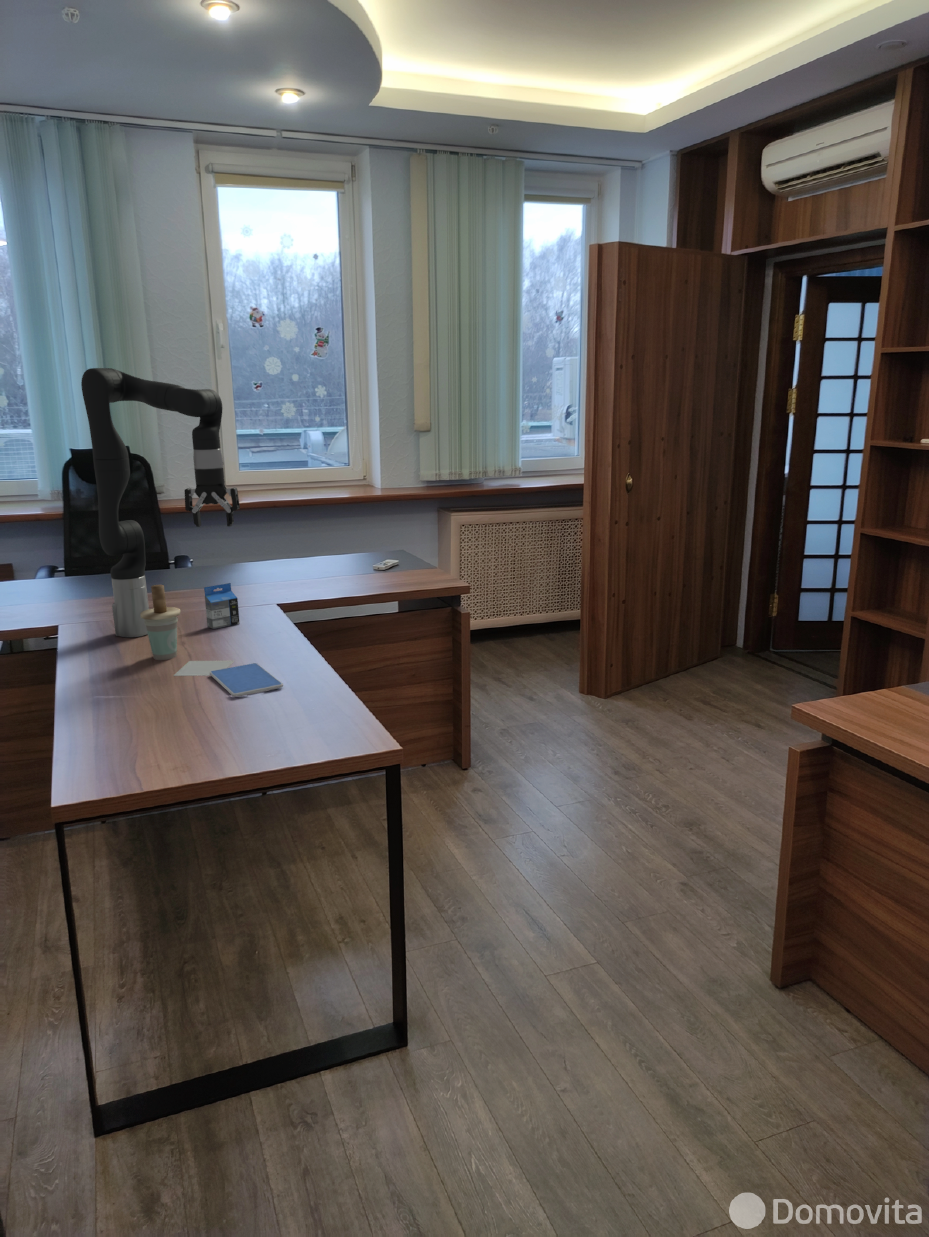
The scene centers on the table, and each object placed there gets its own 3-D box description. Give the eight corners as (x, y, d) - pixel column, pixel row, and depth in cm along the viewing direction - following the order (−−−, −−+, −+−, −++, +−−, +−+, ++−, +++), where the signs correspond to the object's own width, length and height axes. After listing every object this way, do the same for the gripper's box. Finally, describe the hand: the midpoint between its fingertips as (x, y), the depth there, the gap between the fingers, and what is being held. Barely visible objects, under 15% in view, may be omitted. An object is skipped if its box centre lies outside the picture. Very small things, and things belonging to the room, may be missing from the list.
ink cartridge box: (212, 629, 262) (208, 589, 259) (207, 627, 265) (203, 587, 261) (240, 624, 267) (236, 584, 264) (234, 621, 270) (230, 582, 267)
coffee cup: (171, 663, 231) (166, 619, 227) (142, 662, 232) (136, 618, 229) (187, 653, 239) (183, 611, 236) (159, 652, 240) (154, 610, 237)
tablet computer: (208, 675, 219) (208, 670, 219) (257, 666, 225) (256, 661, 225) (233, 699, 203) (232, 694, 203) (285, 689, 210) (284, 683, 209)
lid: (134, 619, 228) (130, 590, 226) (149, 610, 237) (146, 581, 235) (172, 619, 227) (169, 590, 225) (185, 609, 237) (182, 581, 235)
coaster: (173, 677, 220) (173, 675, 220) (189, 662, 231) (189, 660, 231) (220, 676, 219) (220, 675, 219) (234, 662, 231) (234, 660, 231)
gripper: (177, 468, 232) (183, 529, 237) (230, 467, 232) (236, 528, 236) (187, 465, 240) (193, 524, 244) (238, 464, 239) (244, 523, 243)
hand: (214, 526), depth 240 cm, fingers open, 8 cm apart
